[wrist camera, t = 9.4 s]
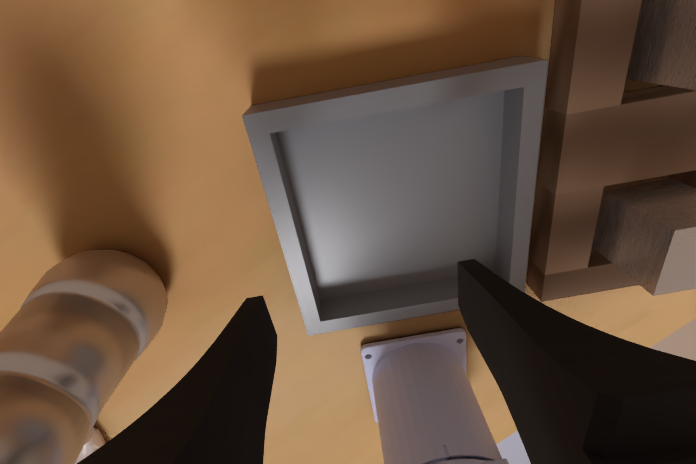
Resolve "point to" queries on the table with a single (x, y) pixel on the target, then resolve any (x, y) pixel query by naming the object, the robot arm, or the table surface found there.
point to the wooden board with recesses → (598, 143)
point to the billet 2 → (650, 232)
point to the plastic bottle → (73, 352)
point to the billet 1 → (665, 44)
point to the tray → (402, 188)
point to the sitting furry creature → (91, 444)
